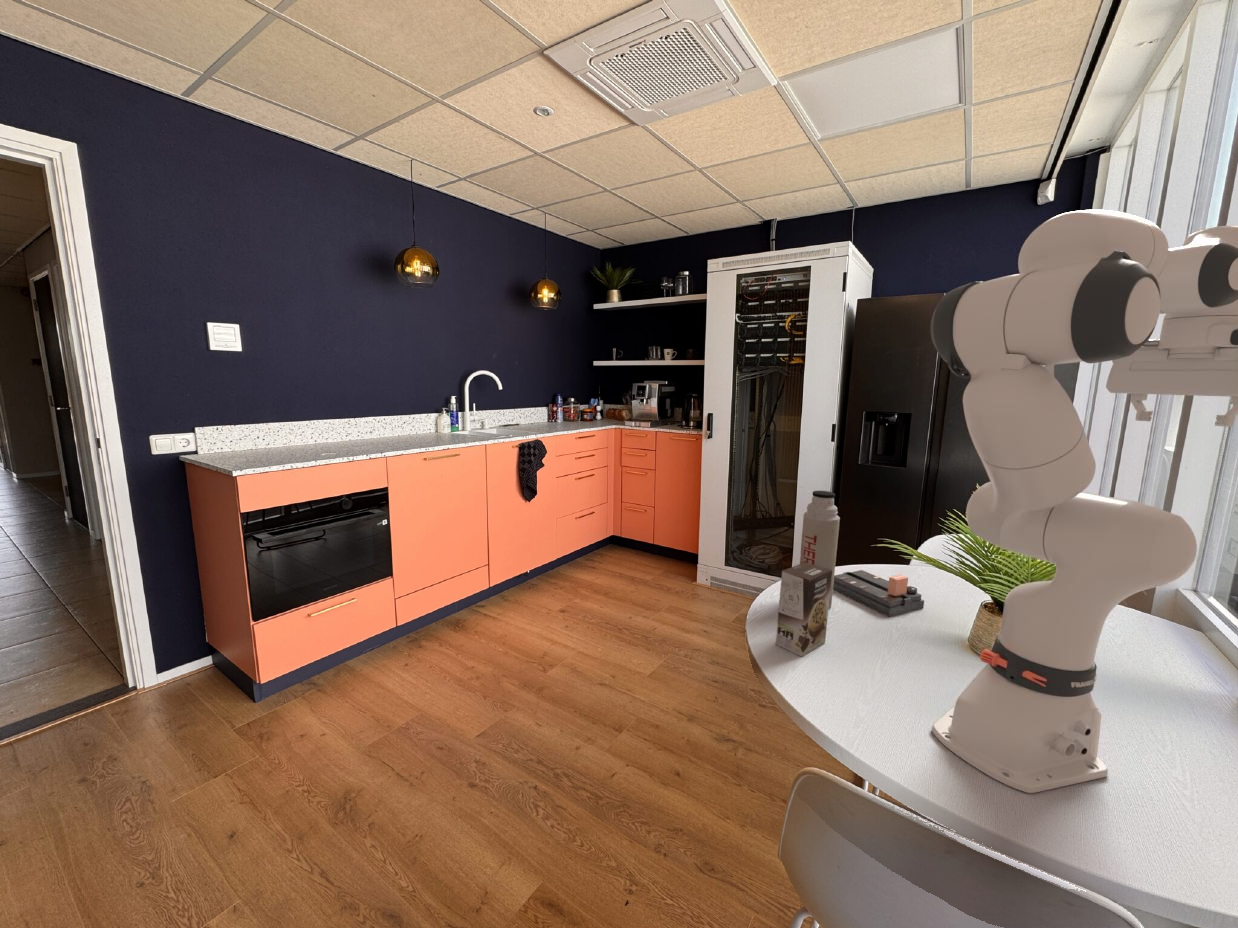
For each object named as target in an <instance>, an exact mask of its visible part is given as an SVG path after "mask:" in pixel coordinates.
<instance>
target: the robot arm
mask: <svg viewBox="0 0 1238 928" xmlns="http://www.w3.org/2000/svg"><path fill="white" fill-rule="evenodd" d="M1169 246H1170V245H1169V241H1168V239H1167V237H1166V234H1165V233H1164V232H1163V230H1162V229H1161V228H1160V227H1159V226H1158V225H1156V223H1154V222H1152V221H1150V220H1148V219H1145V218H1143V217H1140V216H1136V215H1132V214H1129V213H1127V212H1121V211H1116V210H1115V211H1114V210H1107V209H1105V210H1104V209H1085V210H1075V211H1069V212H1064V213H1061V214H1057V215H1056V216H1055V215H1054V216H1053V217H1051V218H1050V219H1048V220H1046V221H1044V222H1042V224H1040V225H1039V226H1038V227H1036V228H1035V229H1034V230H1033V231H1032V232H1031V233H1030V234H1029V236H1027V238H1026V239H1025V241H1024V243H1023V244H1022V246H1021V249H1020V252H1019V254H1018V259H1017V260H1018V261H1017V266H1018V272H1019V273H1015V274H1011V275H1006V276H1001V277H997V278H994V279H990V280H986V281H973V282H969V283H967V284H963V285H961V286H958V287H955V288H954V289H952V290H949V291H948V292H947V293H945V294H944V295H943V296H942V297H941V298H940V300H939V302H938V303H937V305H936V307H935V309H934V311H933V314H932V317H931V320H930V335H931V336H930V337H931V341H932V343H933V345H934V348H935V349H936V351H937V353H938V354H939V356H940V358H941V359H942V360H943V361H944V362H945V363H946V364H947V366H948V369H949V370H950V371H951V372H952V374H954V375H955V376H958V377H960V378H962V379H970V381H969V382H968V384H967V385H966V387H965V388H964V391H963V395H962V406H963V413H964V418H965V422H966V427H967V430H968V433H969V436H970V439H971V442H972V443H973V446H974V448H975V450H976V453H977V455H978V456H979V459H980V460H981V463H982V465H983V468H984V469H985V472H986V474H987V477H988V479H989V481H988V482H986V483H984V484H982V485H981V486H979V487H978V488H977V489H976V490H975V491H974V492H973V493H972V494H971V496H970V498H969V499H968V502H967V505H966V510H965V517H966V521H967V525H968V528H969V529H970V531H971V533H972V534H973V535H975V536H976V537H978V538H980V539H981V540H983V541H986V542H987V543H990V544H991V545H994V546H996V547H998V548H1001V549H1002V550H1005V551H1009V552H1012V553H1016V554H1019V555H1023V556H1026V557H1030V558H1033V559H1037V560H1040V561H1043V562H1048V563H1051V564H1052V565H1055V568H1056V569H1055V573H1054V576H1053V577H1052V580H1041V581H1040V580H1038V581H1032V582H1027V583H1026V582H1025V583H1022V584H1019V585H1017V586H1015V587H1014V588H1013V589H1011V590H1010V591H1009V592H1008V593H1007V595H1006V596H1005V599H1004V603H1003V610H1002V611H1003V612H1002V617H1001V624H1000V629H999V634H998V635H997V636H996V638H995V640H994V642H993V643H992V645H991V648H990V649H988V648H985V649H983V650H982V651H981V653H980V657H979V658H980V661H981V662H983V663H986V664H985V665H984V666H983V668H982V669H980V671H979V672H978V673H977V674H976V675H975V677H974V678H973V679H972V680H971V681H970V682H969V684H968V685H967V686H966V687H965V689H964V690H963V691H962V692H961V693H960V694H959V696H958V697H957V699H956V702H955V704H954V706H952V707H951V708H950V709H949V710H947V711H946V712H945V713H944V714H942V716H940V717H939V718H938V719H937V720H936V721H935V722H934V723H933V724H932V727H931V732H932V733H933V734H934V736H935V737H936V739H938V740H939V742H940V743H942V744H943V746H945V747H946V748H948V749H949V750H950V751H952V753H954V754H955V755H956V756H957V757H959V758H961V759H962V760H964V761H965V762H966V763H968V764H969V765H971V766H972V767H974V768H976V769H977V770H979V771H981V772H982V773H984V774H985V775H987V776H989V777H990V778H992V779H995V780H996V781H998V782H1001V783H1003V784H1004V785H1006V786H1009V787H1011V788H1013V789H1016V790H1019V791H1022V792H1024V793H1028V794H1034V793H1039V792H1044V791H1048V790H1052V789H1057V788H1061V787H1066V786H1070V785H1075V784H1079V783H1084V782H1088V781H1092V780H1093V781H1094V780H1097V779H1102V778H1106V777H1108V775H1109V774H1108V771H1109V768H1108V766H1107V765H1106V763H1105V762H1103V760H1101V758H1099V756H1098V753H1099V752H1098V751H1099V743H1100V742H1099V741H1100V731H1101V725H1102V724H1101V722H1102V713H1101V712H1100V709H1099V708H1098V707H1097V705H1096V704H1095V701H1094V699H1093V696H1092V694H1091V692H1092V691H1093V690H1094V688H1095V687H1094V686H1095V683H1096V680H1097V674H1098V673H1097V669H1098V665H1097V663H1096V662H1095V657H1096V652H1097V648H1098V644H1099V641H1100V637H1101V634H1102V630H1103V628H1104V625H1105V622H1106V620H1107V618H1108V616H1109V615H1110V613H1111V612H1112V611H1113V610H1114V609H1115V608H1116V607H1117V605H1119V604H1120V603H1121V602H1122V601H1124V600H1125V599H1127V598H1129V597H1131V596H1133V595H1135V594H1138V593H1140V592H1142V591H1146V590H1149V589H1153V588H1157V587H1162V586H1165V585H1168V584H1170V583H1172V582H1174V581H1177V580H1178V579H1180V578H1181V577H1182V576H1184V575H1185V574H1186V573H1187V572H1188V571H1189V569H1191V567H1192V565H1193V564H1194V561H1195V559H1196V558H1197V553H1198V551H1197V549H1198V546H1197V545H1198V544H1197V540H1196V536H1195V533H1194V532H1193V530H1192V527H1191V526H1190V525H1189V524H1188V523H1187V521H1186V520H1185V519H1184V518H1183V517H1182V516H1180V515H1178V514H1175V513H1171V512H1169V511H1167V510H1163V509H1161V508H1158V507H1155V506H1151V505H1149V504H1145V503H1142V502H1138V501H1135V500H1130V499H1123V498H1118V497H1112V496H1108V495H1107V496H1106V495H1102V494H1095V493H1089V492H1084V491H1085V490H1086V489H1087V488H1088V487H1089V486H1090V484H1091V483H1092V481H1093V479H1094V477H1095V473H1096V467H1097V465H1096V464H1097V463H1096V459H1095V457H1094V454H1093V452H1092V448H1091V445H1090V443H1089V441H1088V438H1087V435H1086V432H1085V429H1084V426H1083V423H1082V421H1081V419H1080V417H1079V414H1078V412H1077V410H1076V408H1075V405H1074V404H1073V402H1072V400H1071V397H1070V396H1069V395H1068V393H1067V392H1066V390H1065V389H1064V388H1063V386H1062V385H1061V383H1060V382H1059V380H1057V378H1056V377H1055V365H1064V364H1074V363H1081V362H1084V363H1086V364H1097V363H1103V362H1112V366H1111V368H1110V370H1109V373H1108V376H1107V381H1106V383H1105V388H1106V389H1107V391H1108V392H1109V393H1110V394H1131V395H1130V403H1131V404H1132V406H1133V408H1134V409H1135V411H1136V413H1135V414H1136V415H1135V418H1134V419H1135V421H1136V422H1151V420H1152V419H1153V417H1152V416H1153V413H1154V411H1153V410H1147V408H1146V406H1145V404H1144V402H1143V401H1147V400H1148V399H1147V398H1148V395H1163V396H1164V395H1165V396H1166V395H1167V396H1169V395H1170V396H1199V397H1200V396H1201V397H1230V402H1229V403H1230V404H1231V405H1233V406H1232V408H1230V409H1228V411H1227V412H1226V413H1224V414H1217V415H1216V416H1215V420H1216V421H1215V423H1214V426H1215V427H1224V428H1225V427H1226V428H1227V427H1228V428H1230V427H1231V428H1232V427H1233V425H1234V421H1235V418H1236V416H1238V225H1221V226H1220V225H1219V226H1213V227H1209V228H1204V229H1201V230H1198V231H1196V232H1195V231H1194V232H1193V233H1192V234H1190V235H1188V236H1187V237H1186V238H1185V240H1184V242H1183V244H1182V246H1180V247H1174V248H1170V247H1169ZM1164 314H1165V315H1164ZM1160 315H1163V320H1162V325H1161V329H1160V330H1161V331H1160V336H1159V338H1155V339H1150V338H1151V337H1152V335H1153V333H1154V331H1155V329H1156V326H1157V323H1158V319H1159V317H1160Z"/></svg>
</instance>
